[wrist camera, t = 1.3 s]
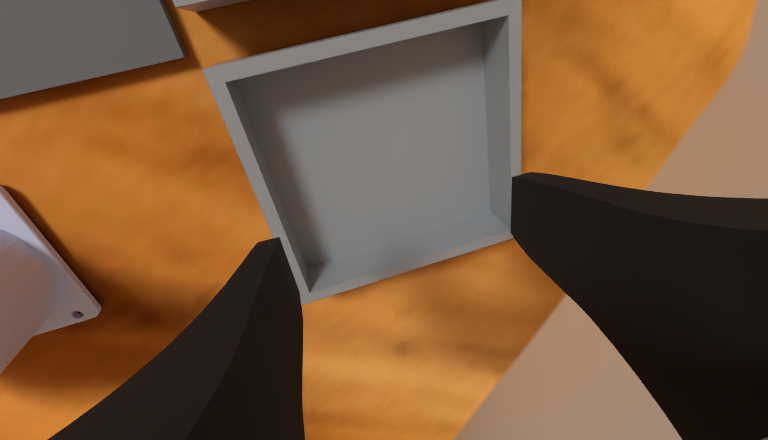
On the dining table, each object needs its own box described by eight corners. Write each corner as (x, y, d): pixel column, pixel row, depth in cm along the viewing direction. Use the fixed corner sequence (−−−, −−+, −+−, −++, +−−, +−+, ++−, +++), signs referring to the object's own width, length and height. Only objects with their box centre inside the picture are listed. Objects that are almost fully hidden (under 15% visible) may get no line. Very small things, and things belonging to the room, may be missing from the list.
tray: (300, 272, 22) (302, 305, 19) (215, 63, 16) (201, 69, 13) (494, 213, 23) (520, 235, 20) (486, 1, 17) (521, -5, 14)
